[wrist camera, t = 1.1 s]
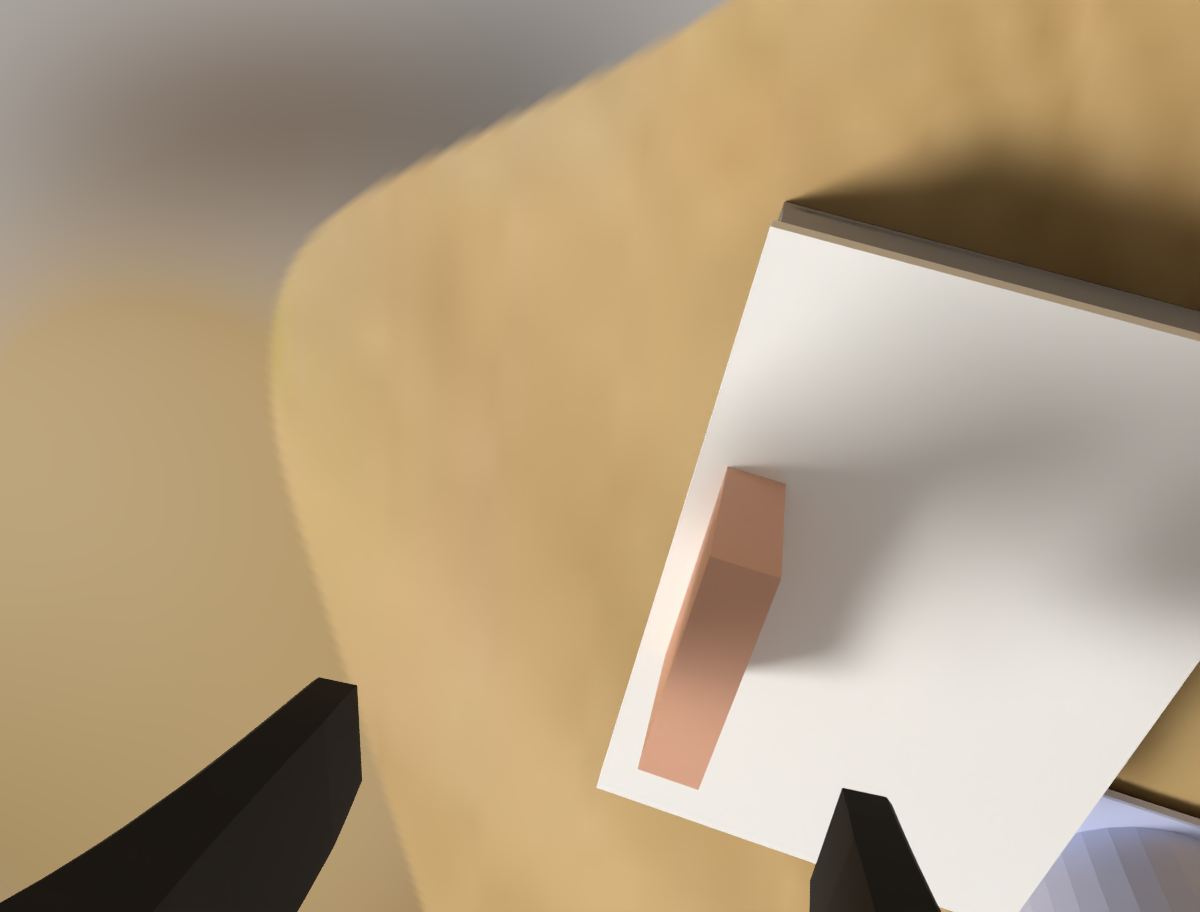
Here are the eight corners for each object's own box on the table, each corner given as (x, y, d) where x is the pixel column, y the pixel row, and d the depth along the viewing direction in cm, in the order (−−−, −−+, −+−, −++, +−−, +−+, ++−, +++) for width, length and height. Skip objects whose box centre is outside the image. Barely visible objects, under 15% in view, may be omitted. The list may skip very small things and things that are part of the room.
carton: (1229, 319, 18) (1333, 378, 15) (964, 765, 24) (992, 882, 21) (784, 201, 19) (779, 230, 16) (640, 658, 25) (614, 753, 22)
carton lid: (1362, 377, 14) (1566, 488, 10) (999, 900, 21) (1042, 1086, 17) (772, 219, 15) (761, 267, 11) (603, 764, 22) (559, 910, 18)
